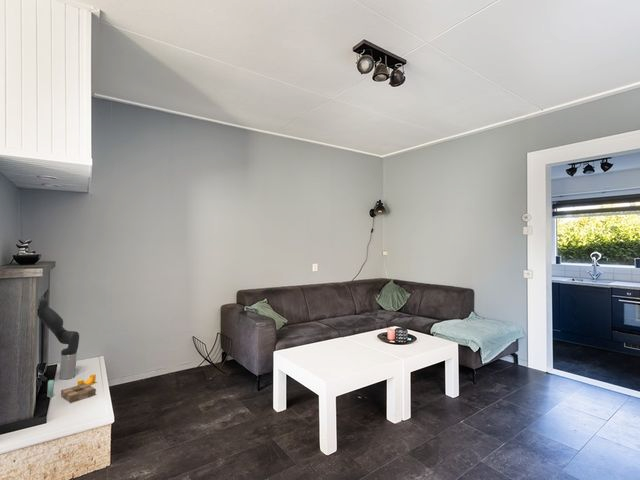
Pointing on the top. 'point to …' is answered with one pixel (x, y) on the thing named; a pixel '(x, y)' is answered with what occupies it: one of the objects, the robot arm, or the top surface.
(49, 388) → the teal peg
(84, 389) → the walnut socket block
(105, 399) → the top surface
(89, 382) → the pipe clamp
